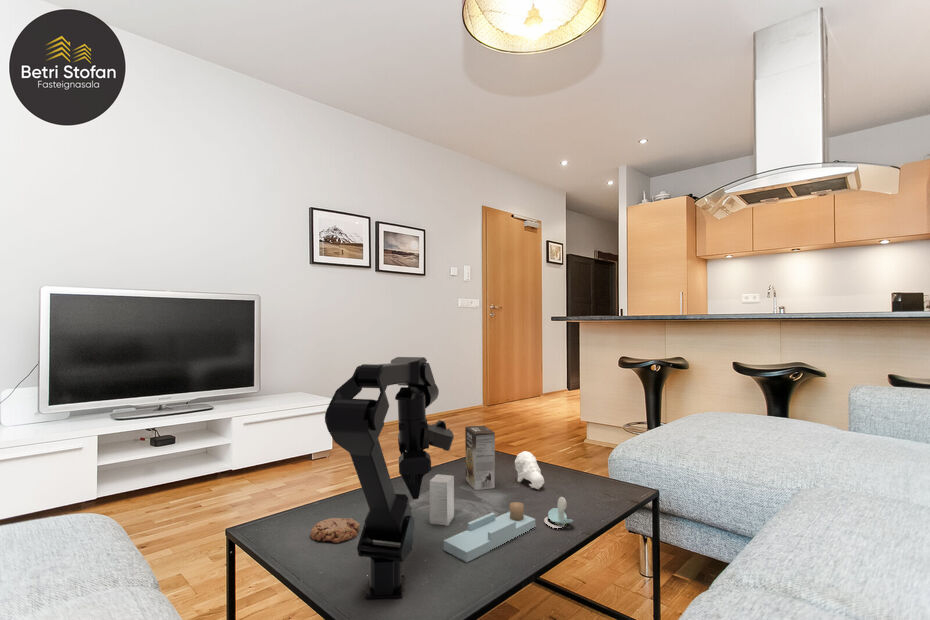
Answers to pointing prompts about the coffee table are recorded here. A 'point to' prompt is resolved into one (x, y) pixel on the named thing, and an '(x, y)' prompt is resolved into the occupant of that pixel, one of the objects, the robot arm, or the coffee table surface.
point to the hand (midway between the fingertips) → (414, 488)
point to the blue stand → (489, 533)
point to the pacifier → (558, 515)
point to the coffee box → (480, 457)
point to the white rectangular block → (441, 499)
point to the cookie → (335, 530)
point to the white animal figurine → (528, 469)
